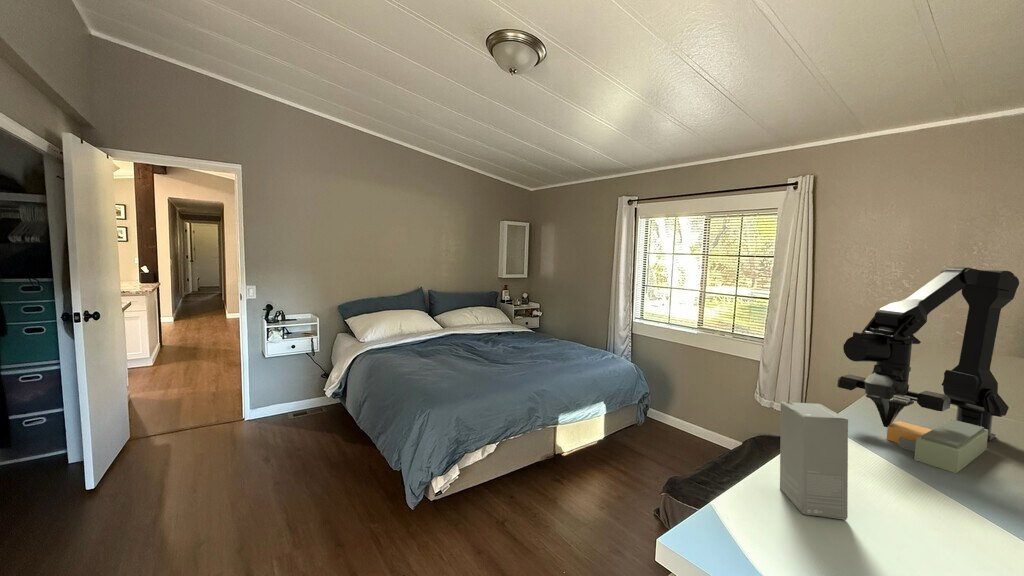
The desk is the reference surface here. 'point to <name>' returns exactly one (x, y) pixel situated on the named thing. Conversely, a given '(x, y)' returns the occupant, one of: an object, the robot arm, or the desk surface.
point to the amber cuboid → (904, 431)
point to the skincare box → (814, 459)
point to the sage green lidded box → (949, 445)
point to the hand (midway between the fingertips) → (886, 426)
